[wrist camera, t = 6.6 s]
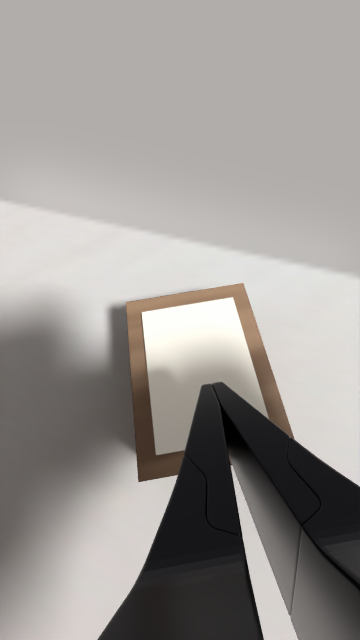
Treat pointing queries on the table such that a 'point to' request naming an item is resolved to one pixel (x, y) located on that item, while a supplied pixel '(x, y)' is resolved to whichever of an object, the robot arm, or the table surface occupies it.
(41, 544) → the table surface
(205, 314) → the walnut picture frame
